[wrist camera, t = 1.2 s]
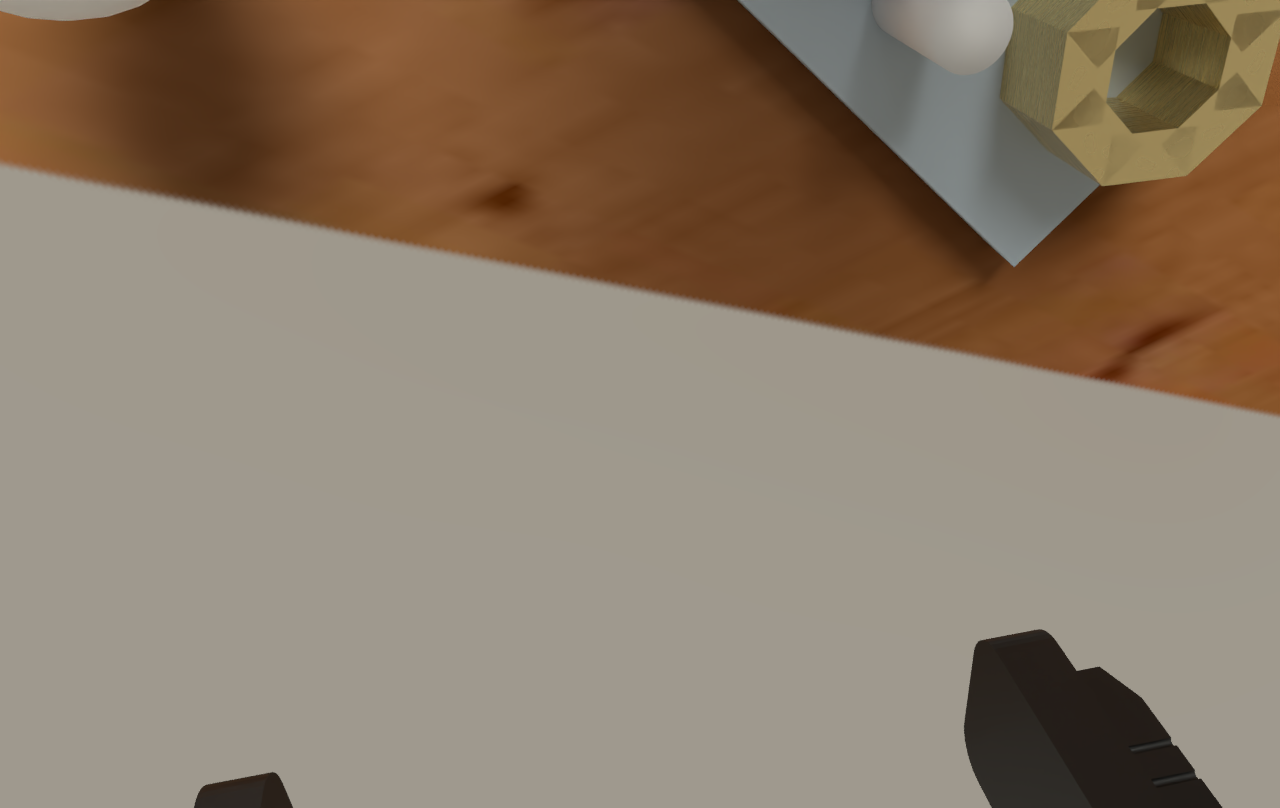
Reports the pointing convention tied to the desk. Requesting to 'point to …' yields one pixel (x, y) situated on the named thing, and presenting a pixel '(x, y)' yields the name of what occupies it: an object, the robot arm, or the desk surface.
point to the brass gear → (1137, 81)
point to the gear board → (947, 102)
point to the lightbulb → (67, 8)
